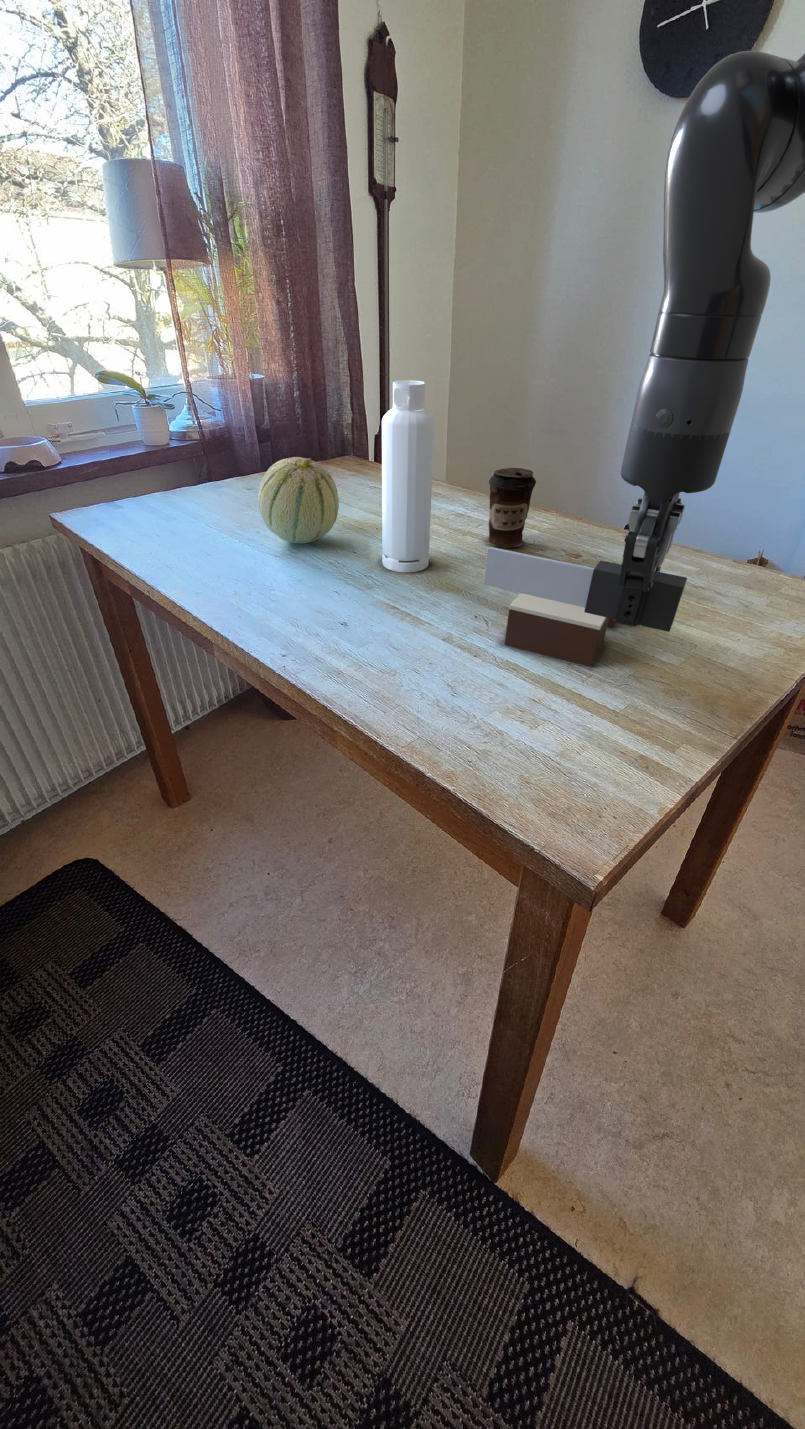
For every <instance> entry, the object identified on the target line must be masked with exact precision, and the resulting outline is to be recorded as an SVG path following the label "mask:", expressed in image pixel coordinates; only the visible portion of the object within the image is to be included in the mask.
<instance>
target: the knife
mask: <svg viewBox="0 0 805 1429" xmlns="http://www.w3.org/2000/svg"><path fill="white" fill-rule="evenodd" d="M621 568H622V563H616V562H611V561H606V560H601V559H600V560H599V561H598V563H597V564H596V566H595V567H591V566H587V565H580V564H575V563H572V562H571V563H570V562H567V561H561V560H557V559H551V558H547V557H541V556H537V555H532V554H527V553H522V552H517V551H512V550H507V549H504V548H503V549H502V548H497V547H493V546H488V547H487V551H486V560H485V569H484V579H483V585H485V586H489V587H494V588H497V589H502V590H506V591H510V592H515V593H519V594H520V593H523V594H528V595H532V596H536V597H541V598H545V599H549V600H554V601H558V602H562V603H567V604H571V605H575V606H580V607H584V608H585V611H584V612H585V613H590V614H594V615H598V616H602V617H607V618H611V619H615V617H616V613H617V609H618V605H619V601H620V597H621V593H622V589H623V587H621V586H619V582H618V580H619V577H620V574H621ZM631 574H636V575H641V576H644V574H643V573H640V572H635V571H632V572H631ZM687 581H688V577H686V576H682V575H676V574H672V573H666V572H661V571H660V572H659V571H658V572H657V571H655V574H654V577H653V581H652V582H653V586H652V588H651V587H650V590H649V591H648V595H647V599H646V602H645V606H644V610H643V613H642V617H641V620H640V623H639V625H638V626H641V627H645V628H650V629H654V630H658V631H662V632H668V633H670V632H671V629H672V626H673V623H674V621H675V618H676V614H677V611H678V608H679V605H680V602H681V598H682V596H683V593H684V590H685V587H686V584H687Z"/></svg>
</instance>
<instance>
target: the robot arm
mask: <svg viewBox="0 0 805 1429" xmlns="http://www.w3.org/2000/svg"><path fill="white" fill-rule="evenodd" d="M803 194H805V52H804V54H802V56H800V57H799V58H798V59H797V60H794V59H793V60H792V59H789V58H785V57H782V56H778V55H775V54H772V53H767V52H764V51H758V50H742V51H738V52H735V53H732V54H729V55H727V56H725V57H724V58H721V60H719V61H718V62H716V63H715V64H714V65H713V66H712V67H711V68H710V69H709V70H708V71H707V72H706V73H705V74H704V75H703V76H702V78H701V79H700V80H699V81H698V82H697V84H696V85H695V87H694V89H693V90H692V91H691V93H690V96H689V97H688V99H687V101H686V102H685V103H684V106H683V109H682V111H681V112H680V115H679V117H678V119H677V121H676V125H675V127H674V130H673V134H672V136H671V141H670V144H669V148H668V153H667V157H666V163H665V171H664V186H663V238H662V239H663V243H662V244H663V245H662V258H663V259H662V260H663V262H662V264H663V291H662V297H661V302H660V305H659V309H658V313H657V317H656V322H655V326H654V332H653V336H652V341H651V345H650V350H649V352H650V353H649V354H648V357H647V362H646V365H645V368H644V371H643V373H642V376H641V379H640V383H639V386H638V390H637V394H636V398H635V403H634V407H633V411H632V417H631V422H630V427H629V431H628V435H627V439H626V445H625V449H624V454H623V458H622V463H621V467H620V477H621V478H622V479H623V481H624V482H626V483H627V484H629V485H631V486H633V487H639V488H641V489H642V490H643V492H644V493H643V496H642V497H639V498H638V499H637V501H636V505H634V504H633V505H632V507H631V510H630V514H629V518H628V521H627V526H628V528H629V529H628V533H627V535H625V537H624V542H625V544H624V549H623V553H622V563H621V564H622V568H621V574H620V577H619V580H618V582H619V586H621V587H623V589H622V593H621V597H620V601H619V605H618V609H617V613H616V617H615V622H616V623H617V624H619V625H620V624H621V625H625V626H629V627H638V626H640V625H639V623H640V620H641V617H642V613H643V610H644V606H645V602H646V599H647V595H648V591H649V590H650V587H651V588H652V586H653V582H652V581H653V577H654V574H655V571H657V572H661V569H662V565H663V564H664V562H665V559H666V557H667V555H668V553H669V552H670V549H671V547H672V544H673V540H674V537H675V533H676V531H677V529H678V526H679V525H680V524H681V521H682V519H683V515H684V513H685V508H686V504H683V503H682V498H679V497H680V493H685V494H695V493H701V492H705V491H707V490H710V488H712V487H713V486H714V484H715V482H716V481H717V477H718V474H719V470H720V467H721V463H722V460H723V457H724V454H725V451H726V447H727V445H728V441H729V439H730V438H729V437H730V435H731V431H732V428H733V425H734V422H735V418H736V415H737V411H738V408H739V405H740V402H741V398H742V394H743V390H744V386H745V380H746V374H747V369H748V364H749V361H750V360H749V357H751V352H752V350H753V346H754V344H755V340H756V336H757V333H758V330H759V326H760V323H761V320H762V315H763V314H764V312H765V311H764V310H765V308H766V304H767V301H768V297H769V293H770V292H769V291H770V287H771V281H772V280H771V277H772V276H771V271H770V268H769V266H768V265H767V263H765V262H764V261H763V260H761V259H760V258H759V257H757V256H756V255H755V254H754V253H753V250H752V232H753V223H754V215H755V214H764V213H768V212H772V211H775V210H778V209H780V208H782V207H784V206H786V205H789V204H790V203H792V202H793V201H795V200H796V199H798V198H799V197H801V196H802V195H803ZM632 571H635V572H640V573H643V574H644V576H641V575H636V574H631V572H632Z"/></svg>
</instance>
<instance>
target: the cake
mask: <svg viewBox="0 0 805 1429" xmlns="http://www.w3.org/2000/svg"><path fill="white" fill-rule="evenodd" d="M584 611H585V608H584V607H580V606H575V605H571V604H567V603H562V602H558V601H554V600H549V599H545V598H541V597H536V596H532V595H528V594H523V593H519V594H517V596H516V597H515V598H514V599H513V600H512V601H511V603H510V604H509V607H508V616H507V621H506V630H505V637H504V645H506V646H510V647H513V648H516V649H521V650H524V651H529V652H532V653H535V654H538V655H542V656H543V655H545V656H548V657H552V658H556V659H559V660H563V661H567V662H570V663H574V664H578V665H583V666H586V667H590V668H592V666H593V665H594V662H595V660H596V658H597V656H598V654H599V652H600V650H601V648H602V647H603V645H604V643H605V642H604V641H605V638H606V633H607V629H608V627H607V626H608V621H609V618H607V617H602V616H598V615H594V614H590V613H585V612H584Z"/></svg>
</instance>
